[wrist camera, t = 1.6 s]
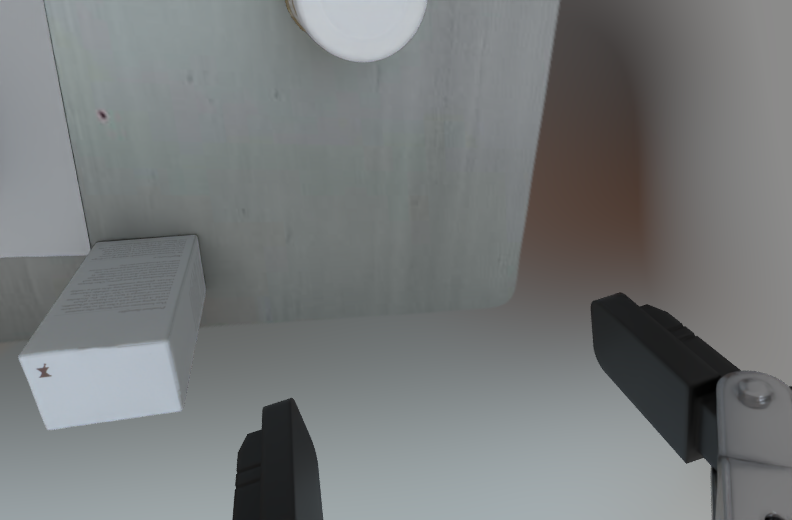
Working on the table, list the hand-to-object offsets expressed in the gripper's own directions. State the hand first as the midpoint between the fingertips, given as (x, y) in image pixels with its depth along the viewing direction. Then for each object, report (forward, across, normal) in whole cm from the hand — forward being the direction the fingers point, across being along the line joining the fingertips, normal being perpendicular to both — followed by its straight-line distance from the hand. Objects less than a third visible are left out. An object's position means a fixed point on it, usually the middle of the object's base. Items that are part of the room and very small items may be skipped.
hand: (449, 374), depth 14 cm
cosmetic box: (+22, +14, +4) cm, 26 cm away
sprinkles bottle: (+22, -1, -9) cm, 24 cm away
